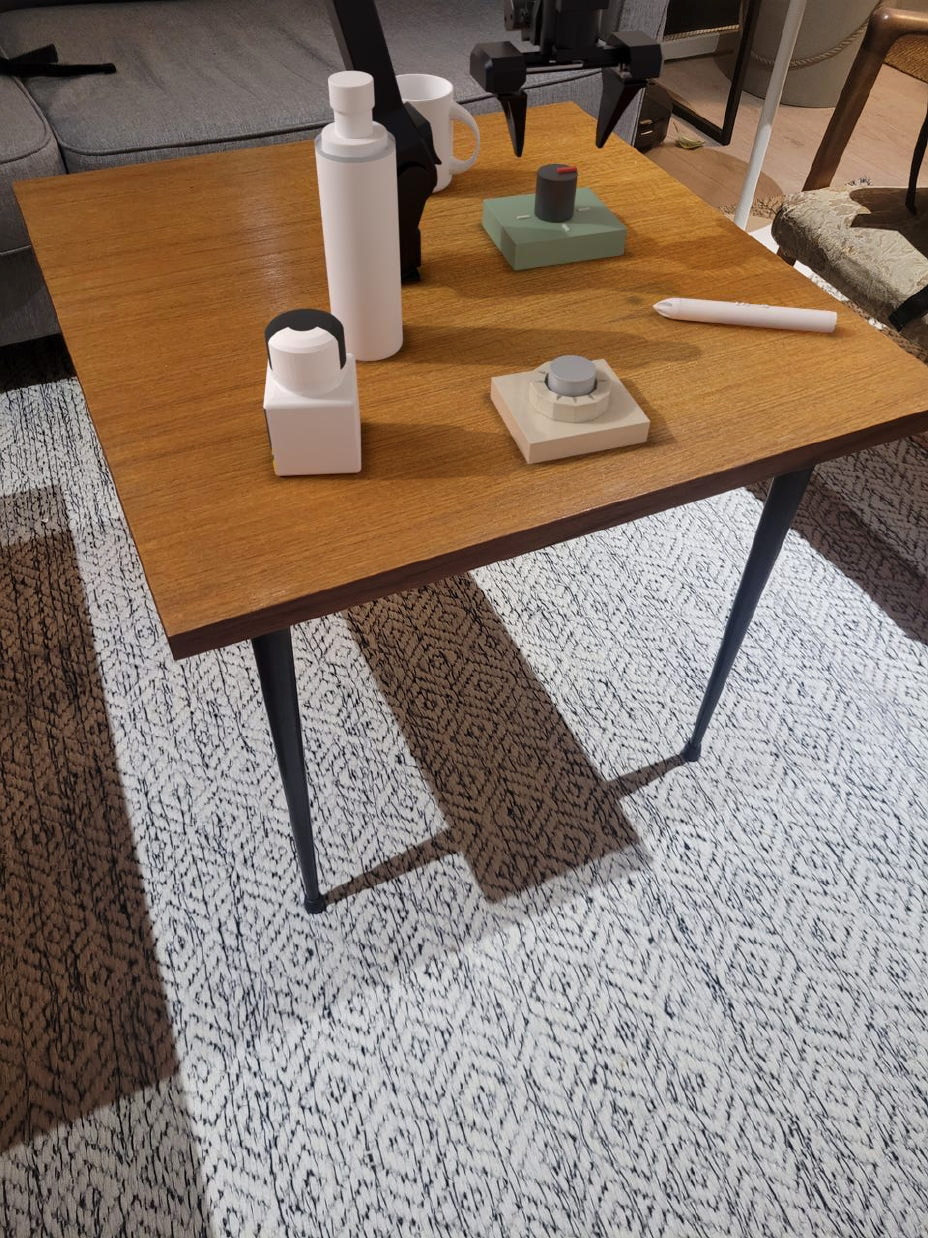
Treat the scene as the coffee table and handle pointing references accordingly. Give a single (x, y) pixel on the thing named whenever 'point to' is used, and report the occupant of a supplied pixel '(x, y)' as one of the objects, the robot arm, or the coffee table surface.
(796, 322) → the marker
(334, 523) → the coffee table surface
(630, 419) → the button housing
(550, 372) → the gray button cap
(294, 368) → the medicine bottle
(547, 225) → the dial panel
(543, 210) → the dial
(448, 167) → the mug
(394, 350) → the white bottle
